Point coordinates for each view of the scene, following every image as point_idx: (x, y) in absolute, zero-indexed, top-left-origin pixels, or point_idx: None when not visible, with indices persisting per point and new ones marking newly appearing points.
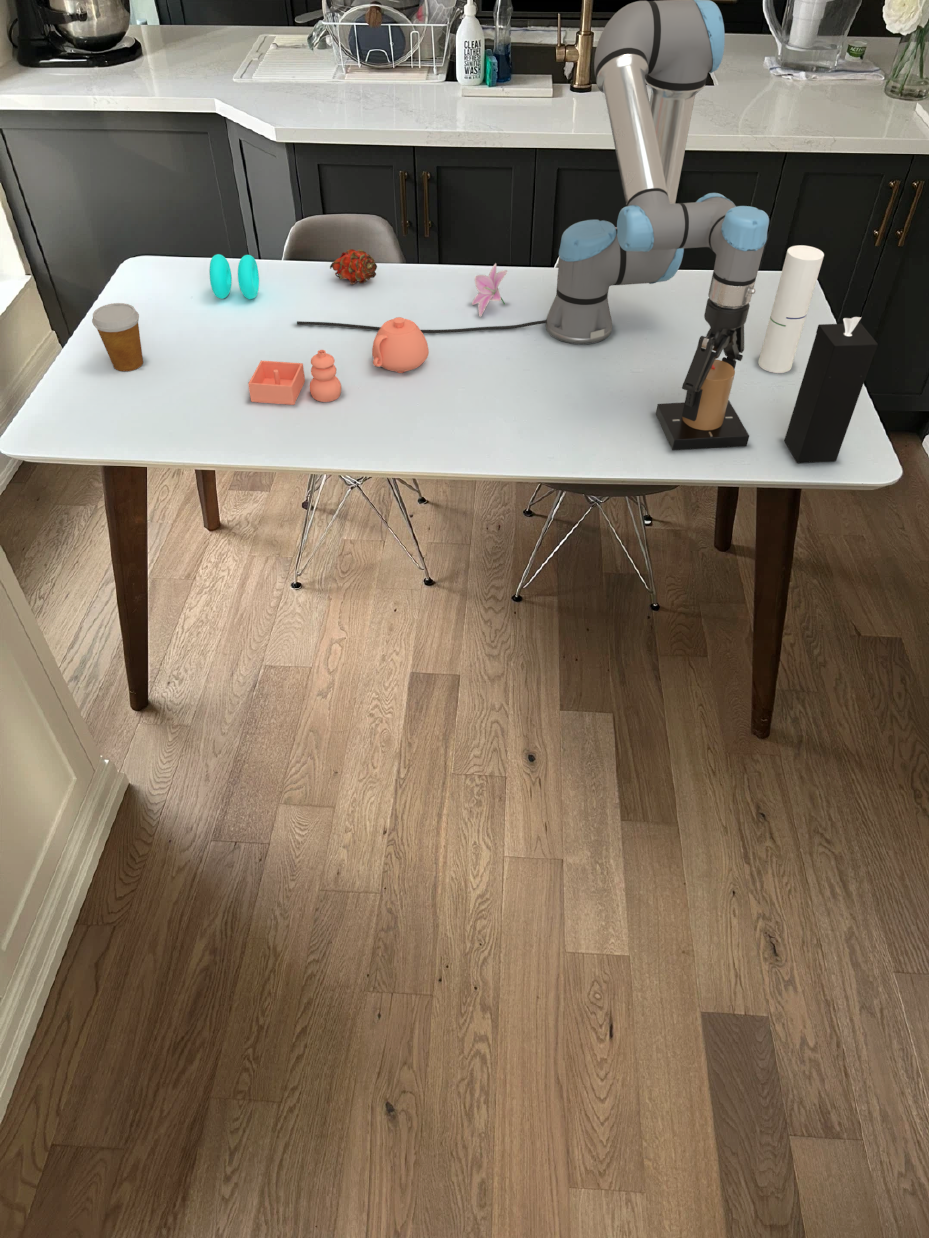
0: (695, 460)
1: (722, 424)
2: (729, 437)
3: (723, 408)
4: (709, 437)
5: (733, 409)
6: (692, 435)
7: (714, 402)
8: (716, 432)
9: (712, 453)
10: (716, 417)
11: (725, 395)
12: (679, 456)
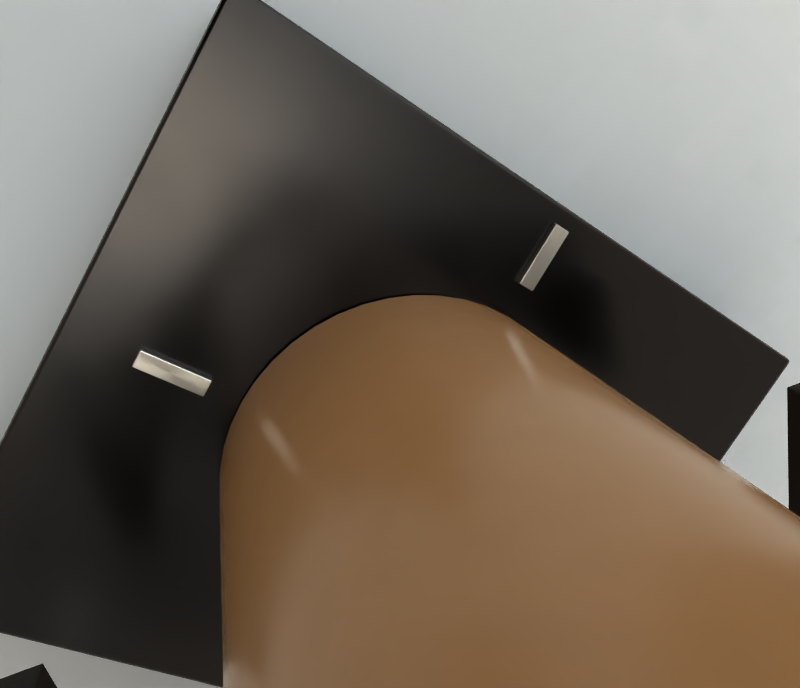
0: (708, 148)
1: (321, 318)
2: (428, 115)
3: (472, 375)
4: (581, 228)
5: (2, 464)
6: (658, 332)
7: (713, 458)
8: (473, 250)
9: (549, 133)
10: (515, 341)
11: (617, 479)
12: (739, 254)
